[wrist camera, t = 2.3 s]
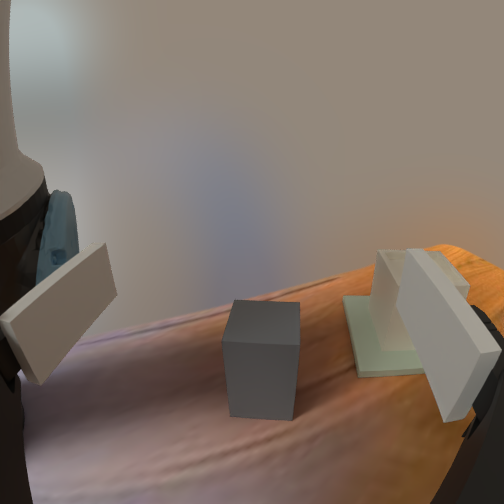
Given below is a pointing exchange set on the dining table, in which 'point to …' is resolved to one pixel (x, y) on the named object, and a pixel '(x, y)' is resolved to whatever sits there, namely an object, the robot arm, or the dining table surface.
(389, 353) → the green baseplate
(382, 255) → the cream base brick
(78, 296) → the robot arm
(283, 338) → the charcoal brick
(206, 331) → the dining table surface
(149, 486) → the dining table surface
